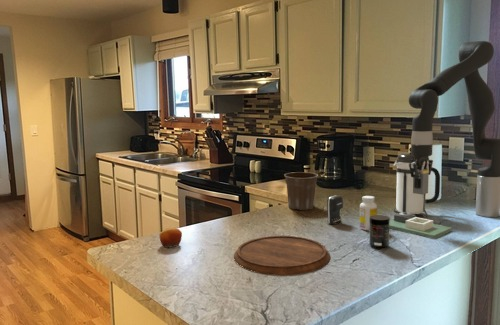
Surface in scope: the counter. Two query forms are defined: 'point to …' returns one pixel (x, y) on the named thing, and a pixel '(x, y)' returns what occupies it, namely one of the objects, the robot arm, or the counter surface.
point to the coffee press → (411, 187)
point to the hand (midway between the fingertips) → (420, 187)
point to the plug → (422, 183)
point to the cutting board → (282, 255)
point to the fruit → (170, 237)
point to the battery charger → (334, 209)
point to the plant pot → (301, 189)
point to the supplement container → (379, 231)
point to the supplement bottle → (367, 211)
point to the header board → (417, 225)
